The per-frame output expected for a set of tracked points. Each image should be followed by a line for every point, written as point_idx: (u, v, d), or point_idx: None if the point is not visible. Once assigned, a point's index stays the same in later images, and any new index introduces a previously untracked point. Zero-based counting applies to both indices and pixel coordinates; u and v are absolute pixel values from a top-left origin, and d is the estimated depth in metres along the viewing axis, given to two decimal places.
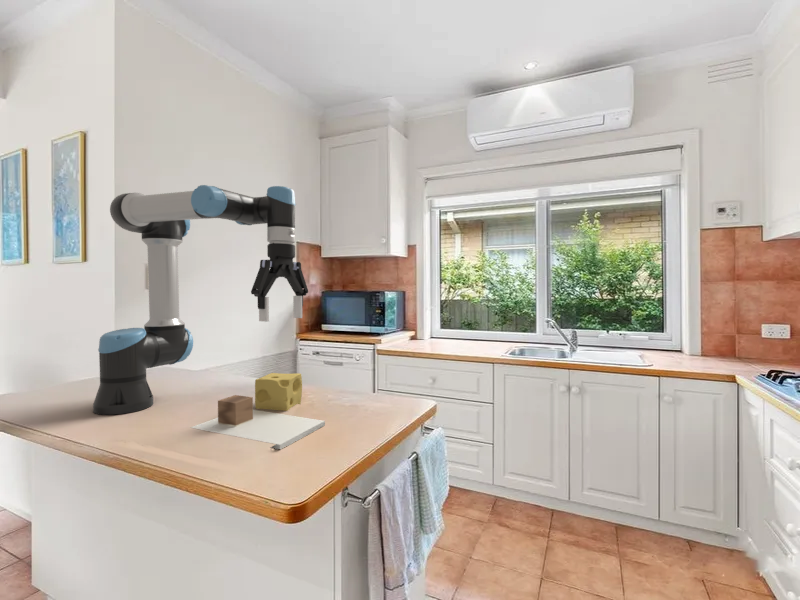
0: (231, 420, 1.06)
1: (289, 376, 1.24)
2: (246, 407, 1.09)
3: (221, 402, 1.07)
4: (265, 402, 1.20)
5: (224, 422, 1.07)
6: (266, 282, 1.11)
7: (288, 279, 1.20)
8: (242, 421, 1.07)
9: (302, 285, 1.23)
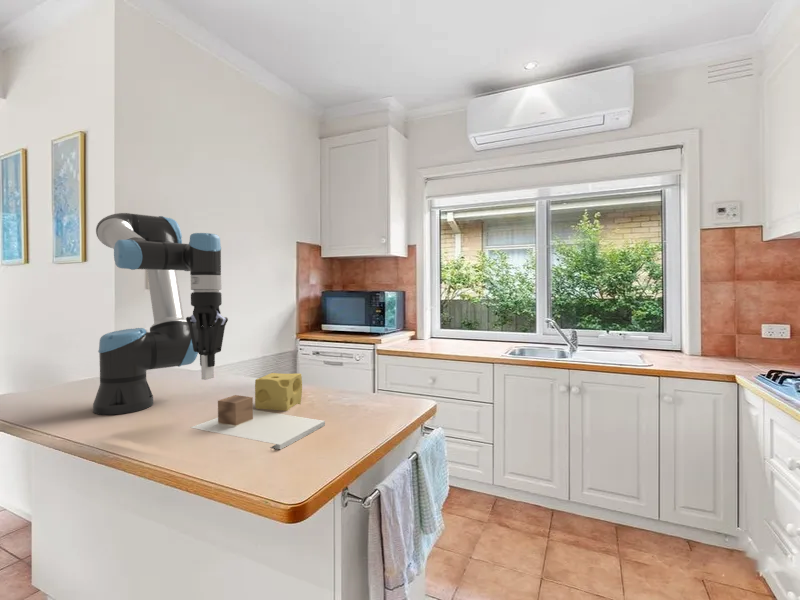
0: (231, 420, 1.06)
1: (289, 376, 1.24)
2: (246, 407, 1.09)
3: (221, 402, 1.07)
4: (265, 402, 1.20)
5: (224, 422, 1.07)
6: None
7: None
8: (242, 421, 1.07)
9: None
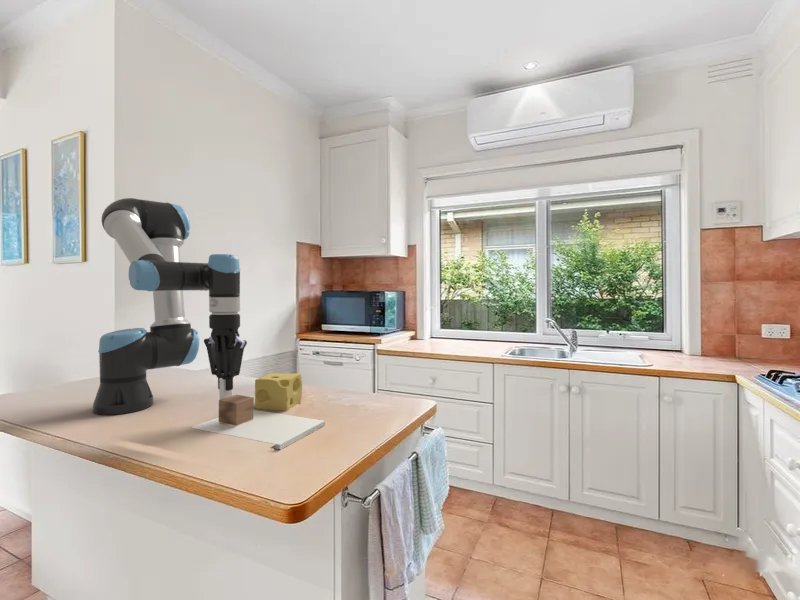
0: (232, 420, 1.06)
1: (289, 376, 1.24)
2: (247, 407, 1.08)
3: (222, 402, 1.07)
4: (265, 402, 1.20)
5: (224, 422, 1.07)
6: None
7: None
8: (242, 421, 1.07)
9: None
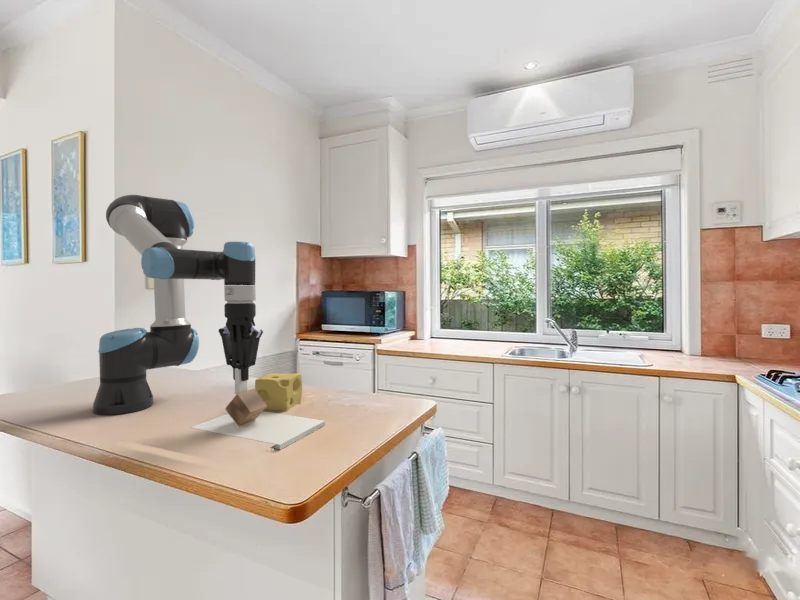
0: (237, 419, 1.05)
1: (289, 376, 1.24)
2: (257, 413, 1.07)
3: (239, 398, 1.04)
4: (265, 402, 1.20)
5: (230, 414, 1.06)
6: None
7: None
8: (246, 422, 1.07)
9: None
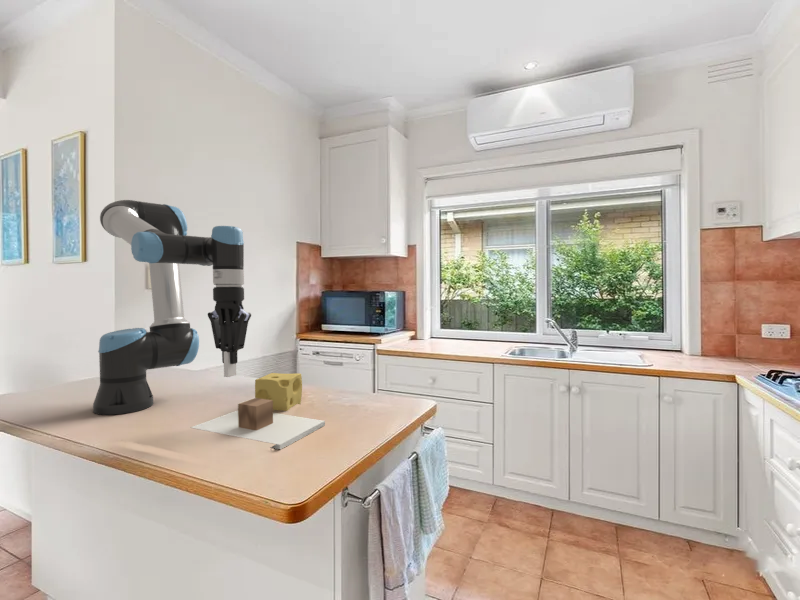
0: (242, 422, 1.04)
1: (289, 376, 1.24)
2: None
3: (255, 411, 1.02)
4: None
5: (239, 412, 1.05)
6: None
7: None
8: None
9: None
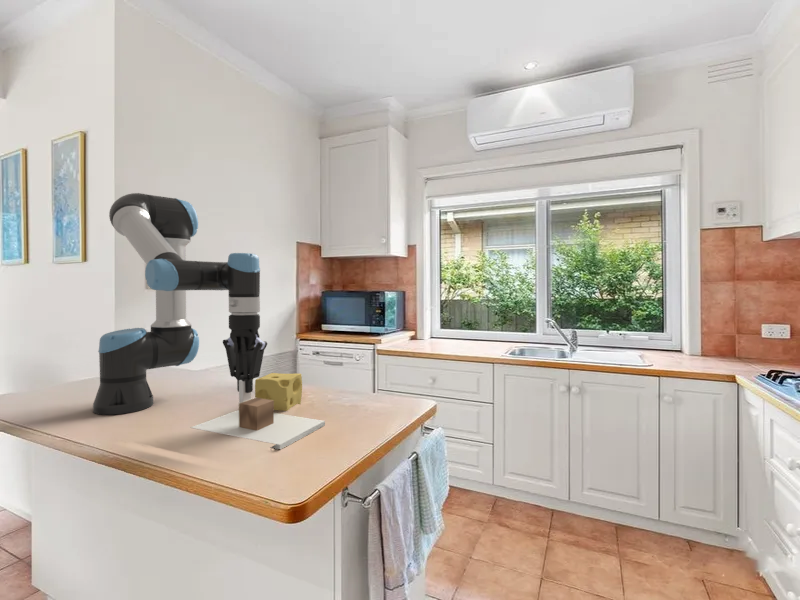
0: (242, 422, 1.04)
1: (289, 376, 1.24)
2: None
3: (256, 411, 1.02)
4: None
5: (240, 412, 1.04)
6: None
7: None
8: None
9: None
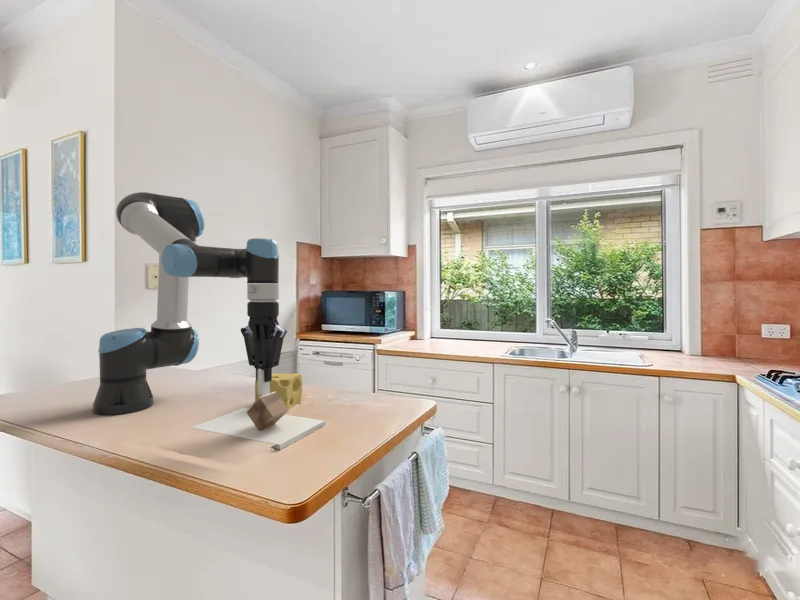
0: (252, 412, 1.03)
1: (289, 376, 1.24)
2: None
3: (269, 418, 1.01)
4: None
5: (255, 404, 1.02)
6: None
7: None
8: None
9: None
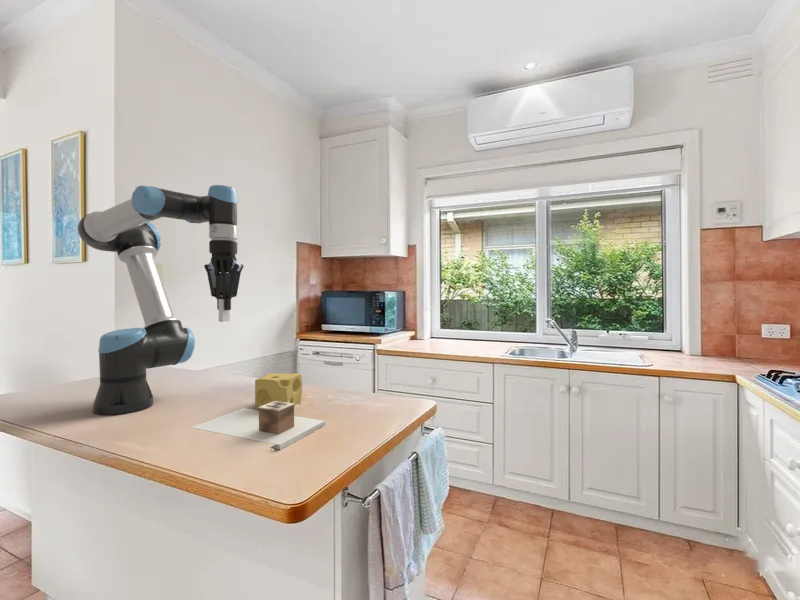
0: (263, 413, 1.01)
1: (289, 376, 1.24)
2: None
3: (274, 432, 1.00)
4: (265, 402, 1.20)
5: (271, 411, 1.01)
6: None
7: None
8: None
9: None
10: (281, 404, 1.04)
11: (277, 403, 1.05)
